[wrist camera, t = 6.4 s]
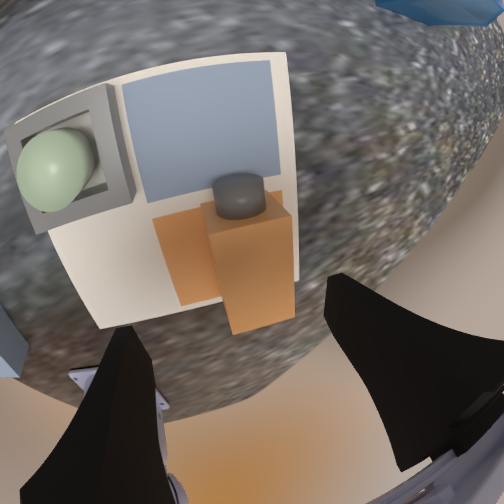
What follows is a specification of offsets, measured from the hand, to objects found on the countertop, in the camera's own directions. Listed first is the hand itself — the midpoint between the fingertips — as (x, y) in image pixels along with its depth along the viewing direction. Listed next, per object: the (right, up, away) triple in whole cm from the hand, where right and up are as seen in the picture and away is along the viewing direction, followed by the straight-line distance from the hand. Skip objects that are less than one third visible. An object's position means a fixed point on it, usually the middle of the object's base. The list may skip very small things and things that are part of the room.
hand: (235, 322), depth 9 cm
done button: (-9, +7, +1) cm, 11 cm away
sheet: (-4, +5, +6) cm, 9 cm away
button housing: (-9, +8, +2) cm, 12 cm away
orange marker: (0, +3, +8) cm, 9 cm away
